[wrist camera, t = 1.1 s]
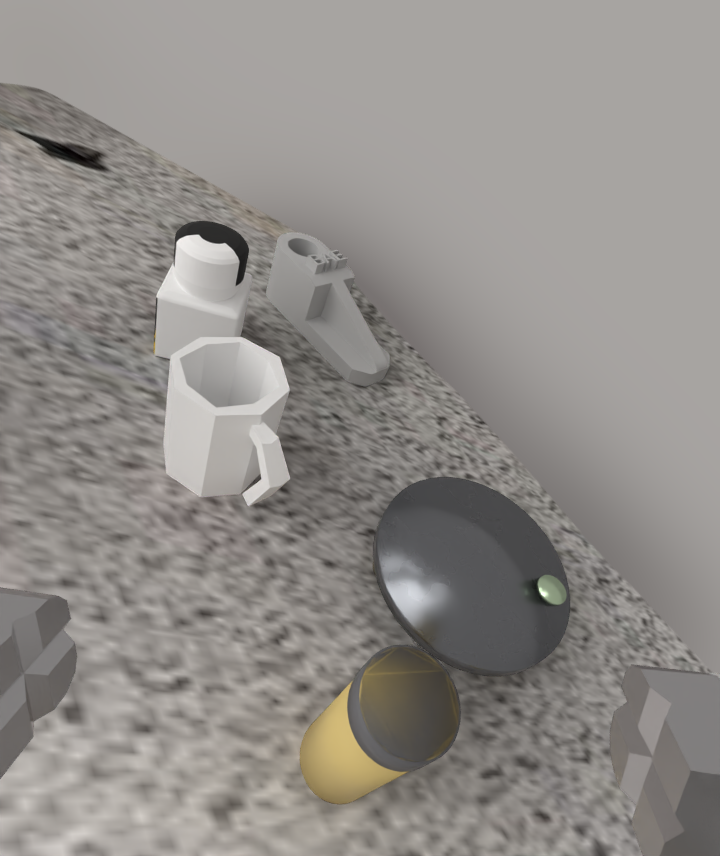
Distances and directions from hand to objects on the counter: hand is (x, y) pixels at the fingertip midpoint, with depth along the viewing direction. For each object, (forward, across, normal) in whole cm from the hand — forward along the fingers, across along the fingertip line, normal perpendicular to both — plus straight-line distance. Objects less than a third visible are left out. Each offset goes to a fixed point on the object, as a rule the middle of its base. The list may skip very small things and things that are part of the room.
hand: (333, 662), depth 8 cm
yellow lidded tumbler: (+18, +2, +25) cm, 31 cm away
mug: (+34, +14, +14) cm, 39 cm away
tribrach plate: (+32, -6, +21) cm, 39 cm away
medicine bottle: (+46, +21, +6) cm, 50 cm away
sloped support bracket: (+55, +10, +6) cm, 56 cm away
